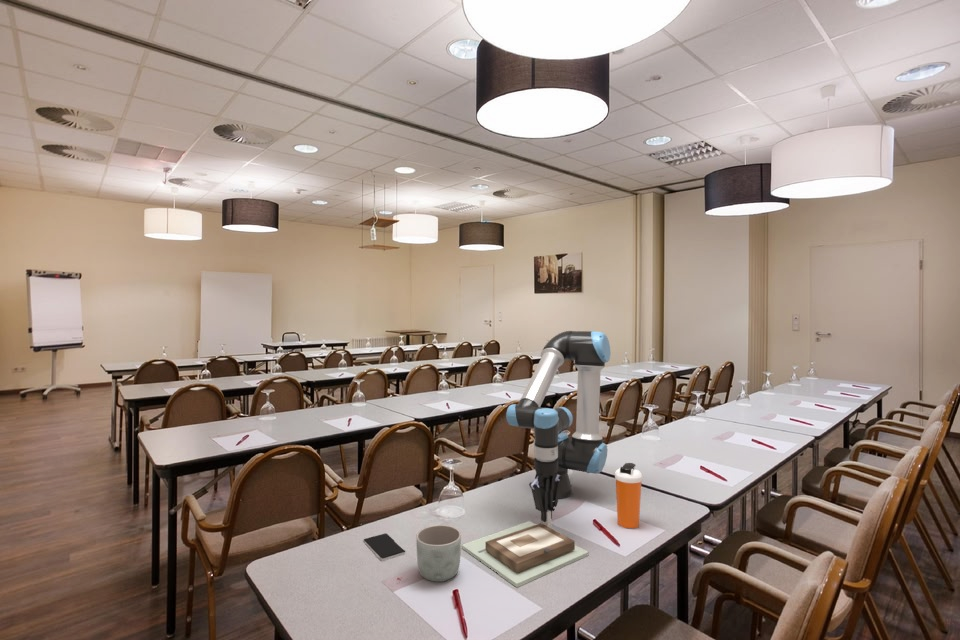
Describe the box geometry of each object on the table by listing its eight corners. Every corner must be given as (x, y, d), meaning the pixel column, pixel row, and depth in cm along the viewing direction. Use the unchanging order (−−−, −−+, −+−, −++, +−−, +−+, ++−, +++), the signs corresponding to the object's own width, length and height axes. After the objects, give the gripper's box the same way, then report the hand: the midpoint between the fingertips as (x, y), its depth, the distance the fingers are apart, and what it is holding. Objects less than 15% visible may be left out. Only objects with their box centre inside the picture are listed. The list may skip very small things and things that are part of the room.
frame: (485, 550, 144) (485, 539, 144) (540, 530, 156) (540, 521, 156) (519, 574, 131) (519, 562, 130) (576, 550, 143) (576, 540, 143)
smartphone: (386, 532, 157) (406, 551, 145) (386, 536, 157) (406, 555, 145) (362, 539, 152) (381, 558, 140) (362, 543, 152) (381, 563, 140)
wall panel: (461, 548, 148) (461, 544, 148) (529, 523, 164) (529, 520, 164) (516, 587, 127) (516, 583, 127) (588, 555, 143) (588, 551, 143)
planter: (443, 591, 125) (443, 550, 125) (407, 577, 132) (406, 538, 132) (469, 569, 136) (469, 531, 135) (434, 557, 142) (434, 521, 142)
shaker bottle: (643, 521, 166) (643, 463, 166) (640, 532, 158) (640, 471, 158) (616, 516, 170) (617, 460, 170) (612, 526, 162) (612, 467, 162)
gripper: (539, 465, 147) (539, 541, 148) (569, 456, 154) (569, 528, 156) (523, 459, 153) (523, 531, 154) (552, 450, 160) (552, 519, 162)
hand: (546, 529), depth 155 cm, fingers closed
